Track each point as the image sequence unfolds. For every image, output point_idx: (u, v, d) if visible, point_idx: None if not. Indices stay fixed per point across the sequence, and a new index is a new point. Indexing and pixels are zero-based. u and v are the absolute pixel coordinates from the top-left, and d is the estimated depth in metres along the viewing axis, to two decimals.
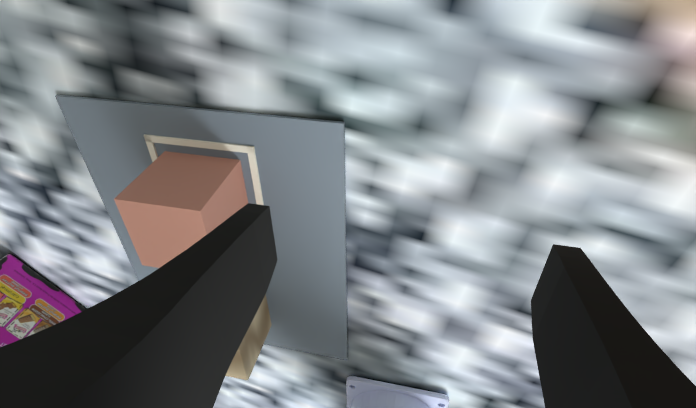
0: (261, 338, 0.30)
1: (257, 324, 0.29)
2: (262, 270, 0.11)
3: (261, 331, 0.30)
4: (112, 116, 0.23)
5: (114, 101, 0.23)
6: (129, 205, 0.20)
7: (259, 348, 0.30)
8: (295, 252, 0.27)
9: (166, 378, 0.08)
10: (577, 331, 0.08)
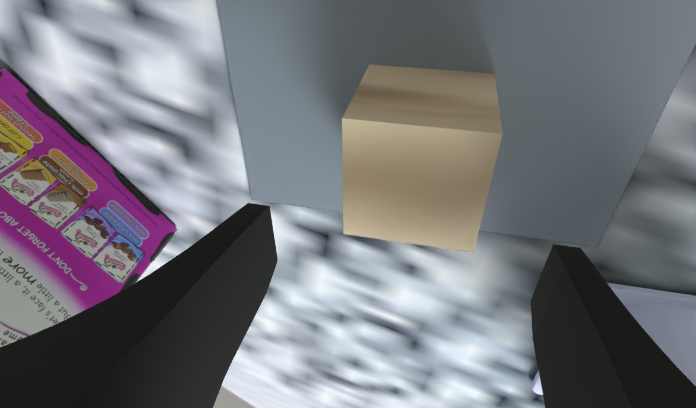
0: None
1: None
2: (262, 270, 0.11)
3: None
4: None
5: None
6: None
7: None
8: None
9: (166, 378, 0.08)
10: (577, 331, 0.08)
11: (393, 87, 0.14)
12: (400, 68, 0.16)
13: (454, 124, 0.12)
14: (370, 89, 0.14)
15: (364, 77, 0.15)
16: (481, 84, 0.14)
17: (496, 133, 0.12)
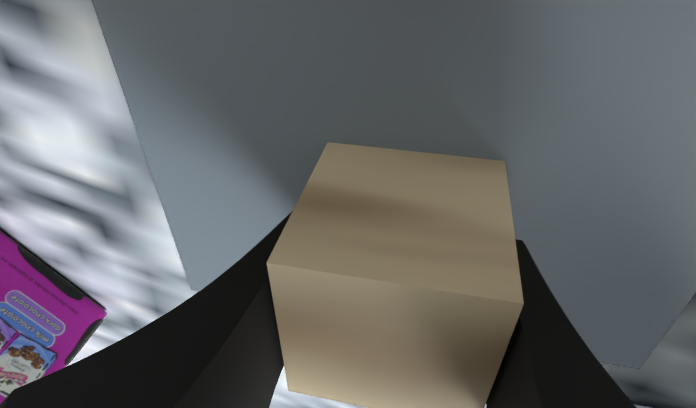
0: None
1: None
2: None
3: None
4: None
5: None
6: None
7: None
8: (692, 13, 0.08)
9: (232, 393, 0.08)
10: None
11: (356, 189, 0.10)
12: (370, 150, 0.11)
13: (444, 278, 0.08)
14: (321, 193, 0.10)
15: (316, 168, 0.10)
16: (486, 183, 0.10)
17: (513, 301, 0.07)
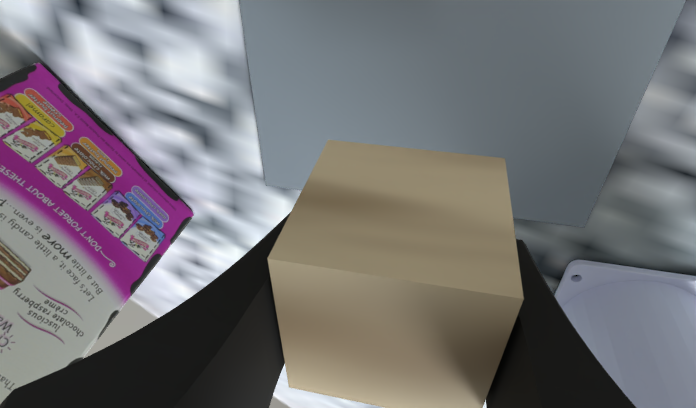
0: None
1: None
2: None
3: None
4: None
5: None
6: None
7: None
8: None
9: (232, 393, 0.08)
10: None
11: (355, 186, 0.10)
12: (371, 147, 0.11)
13: (445, 273, 0.08)
14: (322, 190, 0.10)
15: (317, 166, 0.10)
16: (486, 180, 0.10)
17: (513, 297, 0.07)
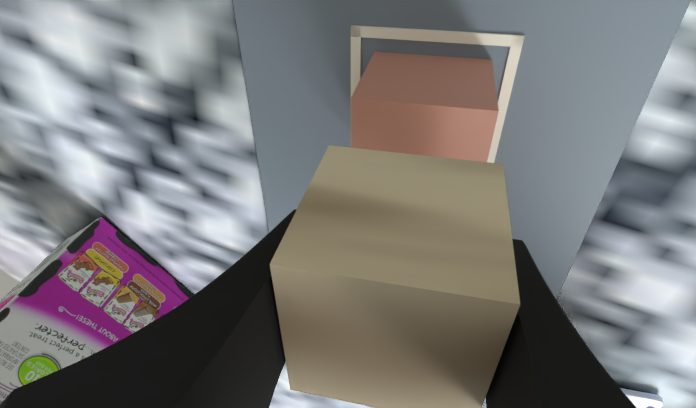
0: None
1: None
2: None
3: None
4: None
5: None
6: (373, 108, 0.14)
7: None
8: (521, 203, 0.20)
9: (232, 392, 0.08)
10: None
11: (356, 192, 0.10)
12: (371, 153, 0.11)
13: (443, 280, 0.08)
14: (322, 196, 0.10)
15: (318, 171, 0.10)
16: (484, 186, 0.10)
17: (510, 302, 0.07)
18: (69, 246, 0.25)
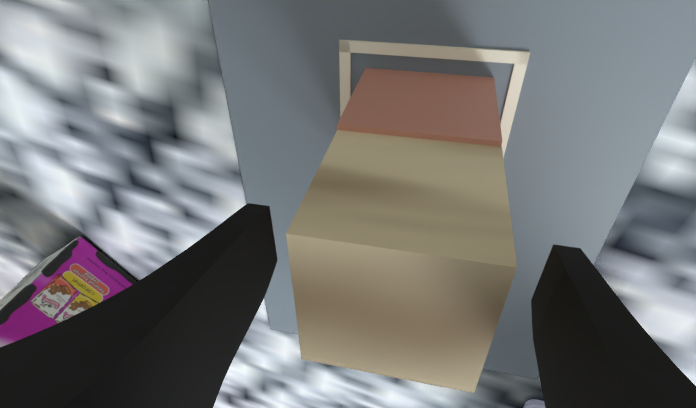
0: None
1: None
2: (262, 270, 0.11)
3: None
4: (293, 9, 0.15)
5: None
6: None
7: None
8: (525, 228, 0.18)
9: (166, 378, 0.08)
10: (577, 331, 0.08)
11: (364, 171, 0.10)
12: (377, 137, 0.12)
13: (447, 246, 0.08)
14: (333, 175, 0.10)
15: (327, 153, 0.11)
16: (484, 166, 0.11)
17: (508, 266, 0.08)
18: (44, 269, 0.23)
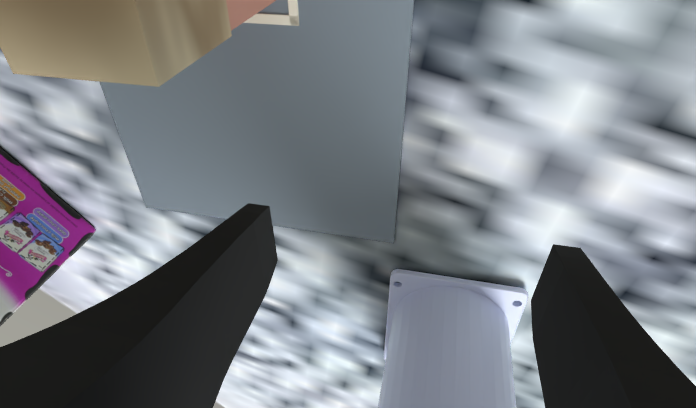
0: (201, 23, 0.13)
1: None
2: (262, 270, 0.11)
3: (201, 5, 0.13)
4: None
5: None
6: None
7: (196, 45, 0.13)
8: (336, 51, 0.19)
9: (166, 378, 0.08)
10: (577, 331, 0.08)
11: None
12: None
13: None
14: None
15: None
16: None
17: None
18: None
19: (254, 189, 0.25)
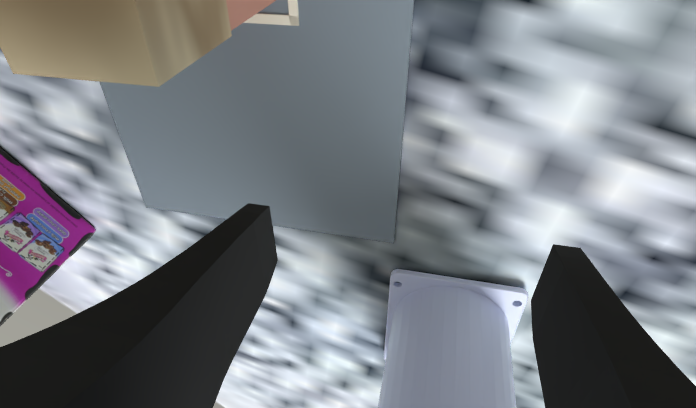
0: (201, 23, 0.13)
1: None
2: (262, 270, 0.11)
3: (201, 5, 0.13)
4: None
5: None
6: None
7: (196, 45, 0.13)
8: (336, 51, 0.19)
9: (166, 378, 0.08)
10: (577, 331, 0.08)
11: None
12: None
13: None
14: None
15: None
16: None
17: None
18: None
19: (254, 189, 0.25)
